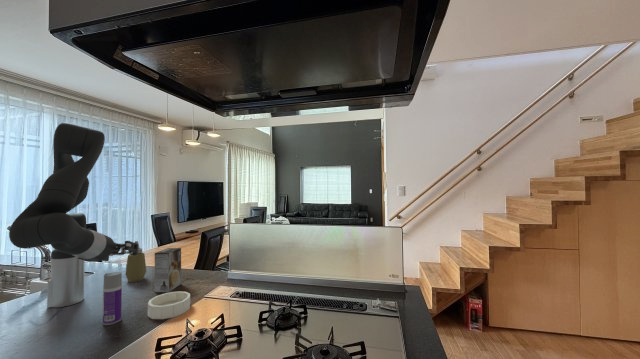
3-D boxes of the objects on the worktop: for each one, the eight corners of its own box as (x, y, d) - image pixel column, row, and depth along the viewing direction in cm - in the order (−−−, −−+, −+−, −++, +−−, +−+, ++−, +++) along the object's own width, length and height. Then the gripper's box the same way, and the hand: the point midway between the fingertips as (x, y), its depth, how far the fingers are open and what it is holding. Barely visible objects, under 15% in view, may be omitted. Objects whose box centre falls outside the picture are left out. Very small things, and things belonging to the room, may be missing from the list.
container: (124, 319, 86) (125, 272, 86) (109, 326, 81) (109, 277, 82) (114, 316, 87) (115, 271, 88) (99, 323, 83) (99, 275, 83)
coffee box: (167, 284, 117) (167, 247, 118) (181, 284, 117) (181, 247, 117) (153, 292, 108) (154, 252, 108) (169, 292, 108) (169, 252, 108)
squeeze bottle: (138, 283, 119) (138, 242, 119) (120, 283, 119) (121, 243, 119) (150, 277, 127) (150, 239, 127) (133, 277, 127) (134, 239, 127)
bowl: (144, 322, 83) (144, 309, 84) (151, 306, 95) (151, 295, 95) (189, 314, 88) (189, 302, 89) (190, 299, 100) (190, 289, 100)
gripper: (119, 227, 78) (145, 240, 93) (63, 237, 75) (99, 249, 90) (117, 252, 75) (144, 261, 90) (59, 264, 72) (96, 271, 87)
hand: (121, 255), depth 90 cm, fingers open, 8 cm apart
